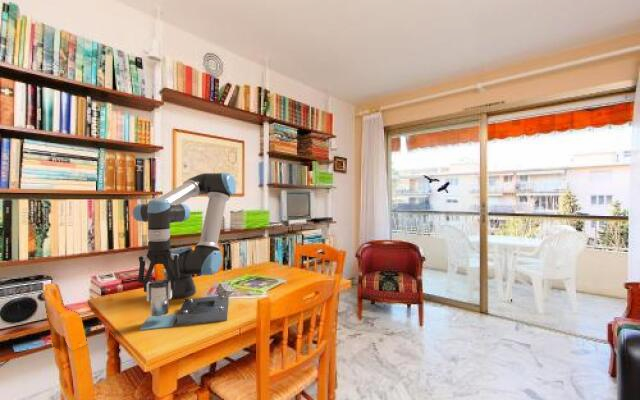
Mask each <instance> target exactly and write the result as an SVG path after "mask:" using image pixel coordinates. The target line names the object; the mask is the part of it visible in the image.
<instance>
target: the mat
mask: <svg viewBox="0 0 640 400" xmlns="http://www.w3.org/2000/svg"><path fill="white" fill-rule="evenodd" d="M177 315H178V313H175V314H165V315H162V316H148V317H147V319H146V320H145V321H144V323H143V324H142V325H141V327H139V331H150V330H157V329H158V330H159V329H160V330H161V329H168V328H173V327H174V325H175V324H176V322H177Z"/></svg>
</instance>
